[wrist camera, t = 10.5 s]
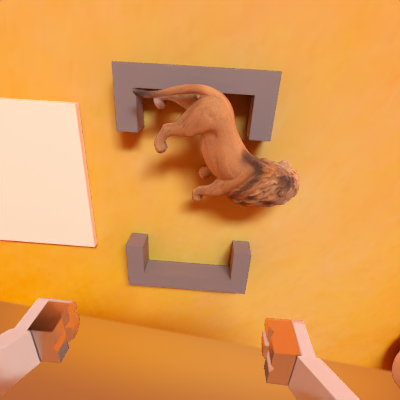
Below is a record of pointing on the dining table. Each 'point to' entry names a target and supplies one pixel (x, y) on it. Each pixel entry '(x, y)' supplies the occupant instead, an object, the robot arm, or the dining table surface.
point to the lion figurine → (223, 148)
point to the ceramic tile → (44, 174)
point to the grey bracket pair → (134, 121)
